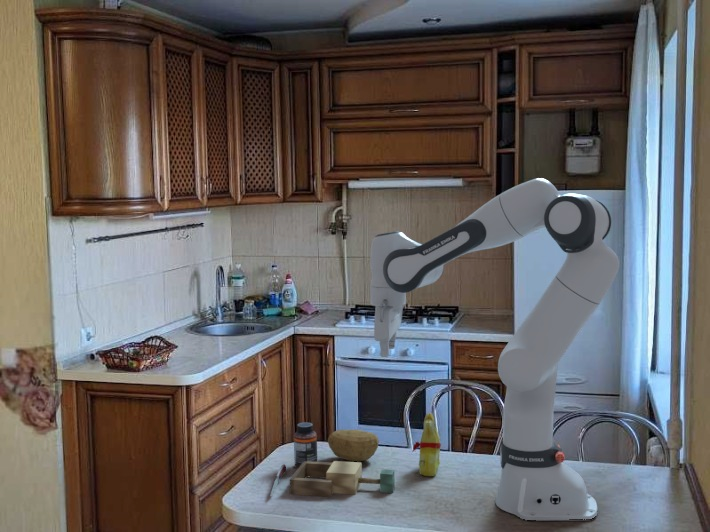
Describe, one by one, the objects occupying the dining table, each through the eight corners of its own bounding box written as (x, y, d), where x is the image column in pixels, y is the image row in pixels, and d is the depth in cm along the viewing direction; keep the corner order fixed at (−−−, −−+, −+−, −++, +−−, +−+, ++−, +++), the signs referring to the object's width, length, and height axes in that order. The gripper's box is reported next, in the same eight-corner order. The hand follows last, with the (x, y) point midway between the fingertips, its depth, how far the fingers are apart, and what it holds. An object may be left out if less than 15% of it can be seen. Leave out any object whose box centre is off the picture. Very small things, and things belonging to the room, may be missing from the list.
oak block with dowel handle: (396, 484, 200) (395, 464, 199) (391, 496, 192) (390, 476, 191) (334, 480, 203) (333, 461, 202) (326, 492, 195) (326, 472, 194)
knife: (282, 471, 210) (281, 460, 210) (287, 471, 210) (286, 460, 209) (267, 503, 190) (267, 490, 189) (273, 503, 190) (273, 490, 189)
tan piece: (342, 476, 205) (342, 463, 204) (331, 496, 192) (330, 482, 192) (304, 474, 207) (304, 460, 206) (289, 493, 194) (289, 479, 194)
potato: (337, 451, 224) (337, 422, 224) (384, 458, 218) (384, 428, 218) (320, 462, 216) (320, 432, 215) (369, 470, 210) (369, 439, 209)
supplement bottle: (305, 461, 217) (304, 419, 215) (322, 466, 213) (321, 423, 212) (289, 467, 212) (288, 424, 211) (306, 472, 208) (305, 429, 207)
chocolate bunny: (442, 463, 214) (442, 407, 212) (437, 478, 203) (437, 419, 201) (416, 461, 215) (416, 406, 214) (410, 476, 205) (409, 418, 203)
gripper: (394, 303, 191) (394, 362, 193) (406, 291, 211) (406, 344, 213) (367, 303, 193) (368, 361, 194) (382, 291, 213) (382, 343, 214)
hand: (388, 352), depth 204 cm, fingers open, 8 cm apart
